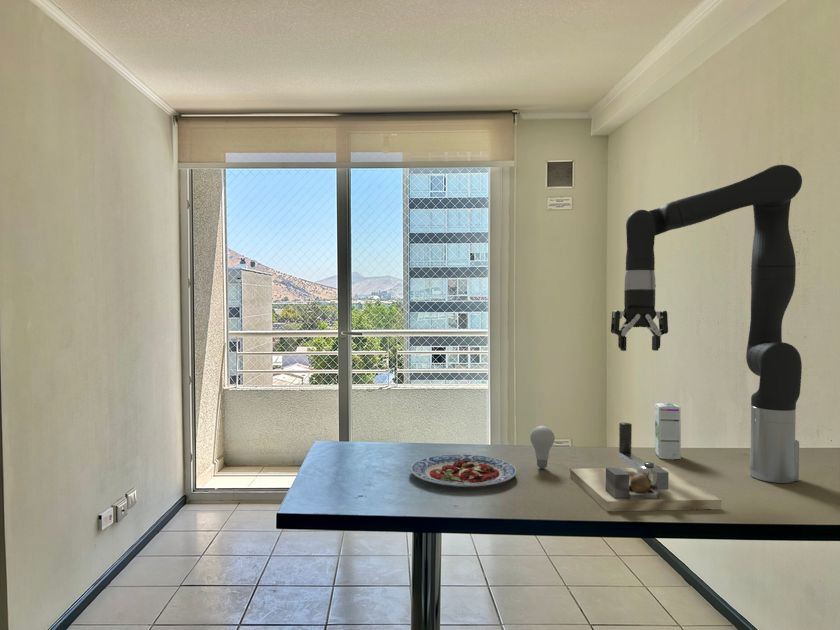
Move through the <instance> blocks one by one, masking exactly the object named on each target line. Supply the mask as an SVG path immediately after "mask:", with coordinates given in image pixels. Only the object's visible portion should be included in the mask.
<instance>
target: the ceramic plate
mask: <svg viewBox="0 0 840 630" xmlns="http://www.w3.org/2000/svg"><path fill="white" fill-rule="evenodd" d="M410 472H411V474H412V475H413V476H415V477H417V478H418V479H421V480H422V481H426V482H429V483H433V484H437V485H442V486H446V485H447V487H454V488H455V487H456V488H476V487H484V486H491V485H496V484H500V483H504V482H507V481H509V480H512V479H513V478H514V477H515V476H516V474H517V468H516V467H515V466H514V465H513V464H511V463H510V462H509V461H507V460H506V461H505V460H502V459H500V458H497V457H491V456H486V455H479V454H466V453H462V454H461V453H455V454H454V453H449V454H438V455H433V456H428V457H424V458H421V459H418V460H417V461H415V462H413V463H412V464H411V465H410Z"/></svg>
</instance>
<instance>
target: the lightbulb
mask: <svg viewBox="0 0 840 630" xmlns="http://www.w3.org/2000/svg"><path fill="white" fill-rule="evenodd" d="M555 439H556V438H555V433H554V432H553V430H552V429H551V428H549V427H548V426H546V425H537V426H536V427H534V428H533V429H532V431H531V432H530V436H529V440H530V443H531V445H532V447H533V449H534V452H535V458H536V466H537V467H538V468H539V469H541V470H544V469H545V468H547V467H548V460H549V455H550V451H551V449H552V447H553V446H554V443H555Z"/></svg>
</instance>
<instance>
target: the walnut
mask: <svg viewBox="0 0 840 630" xmlns="http://www.w3.org/2000/svg"><path fill="white" fill-rule="evenodd" d="M630 486H631V488H632V490H633V491H634V492H635V493H647V492H648V491H649V489H650V481H649V480H648V478H647V477H645V476H644V475H640V474H639V475H635V476H633V477H632V478H631V481H630Z"/></svg>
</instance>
